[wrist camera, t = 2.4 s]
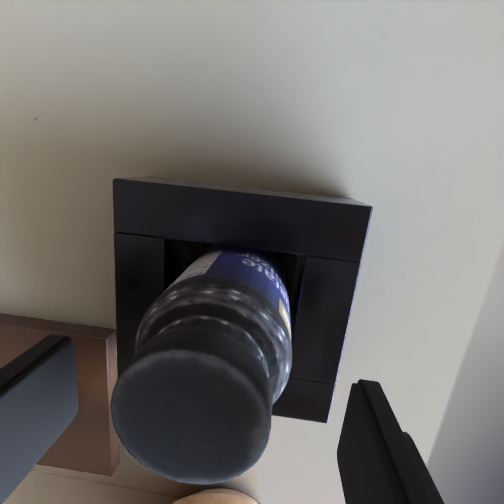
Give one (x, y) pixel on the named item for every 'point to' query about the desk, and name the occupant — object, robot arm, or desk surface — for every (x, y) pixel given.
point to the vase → (217, 497)
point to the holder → (254, 237)
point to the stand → (89, 391)
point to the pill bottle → (208, 368)
